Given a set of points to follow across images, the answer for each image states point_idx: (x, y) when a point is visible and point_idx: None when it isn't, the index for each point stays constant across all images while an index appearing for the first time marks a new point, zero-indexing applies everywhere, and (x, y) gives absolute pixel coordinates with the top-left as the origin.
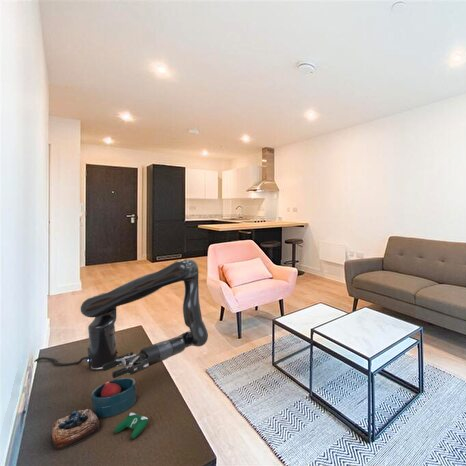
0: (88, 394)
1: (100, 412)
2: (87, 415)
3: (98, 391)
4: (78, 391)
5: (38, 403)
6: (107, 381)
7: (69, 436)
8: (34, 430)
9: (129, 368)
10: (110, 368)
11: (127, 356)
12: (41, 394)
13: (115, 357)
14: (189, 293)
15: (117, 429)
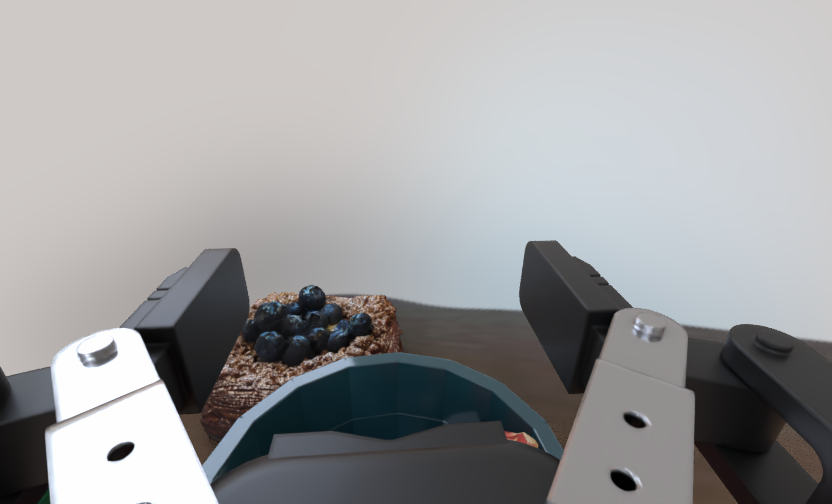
0: (730, 496)
1: None
2: (299, 366)
3: (496, 420)
4: (810, 463)
5: (720, 338)
6: (526, 438)
7: None
8: (480, 314)
9: (51, 385)
10: (545, 343)
11: (653, 449)
12: (824, 353)
13: (786, 335)
14: None
15: None
